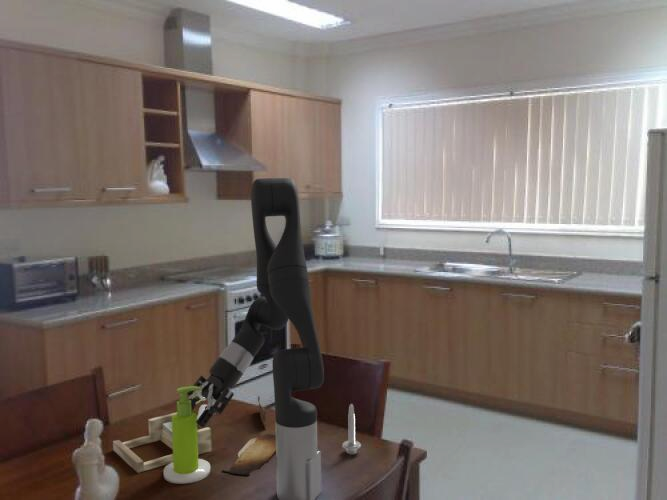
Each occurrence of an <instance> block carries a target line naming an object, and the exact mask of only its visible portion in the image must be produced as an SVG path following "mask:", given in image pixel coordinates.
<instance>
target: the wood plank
mask: <svg viewBox="0 0 667 500" xmlns="http://www.w3.org/2000/svg"><path fill="white" fill-rule="evenodd" d="M260 400H261V398H260V396H259V395H258V396H257V402H258V408H259V415H260V421H261V422H262V424H263V427H264V429H265V430H267V429H266V421H267V419H266V418H267V413H268V412H266V410H265V408H264V407H262V405H261V403H260V402H261V401H260Z"/></svg>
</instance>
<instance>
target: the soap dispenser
mask: <svg viewBox="0 0 667 500" xmlns="http://www.w3.org/2000/svg"><path fill="white" fill-rule="evenodd" d="M176 389H177V390H176V391H177V393H178V394H179V400H177V401H176V412H177V414H174V415H173V416H172V439H173V449H172V454H173V468H174V472H176V473H178V474H188V473H192V472H194V471H196V470H197V469H198V467H199V465H198V459H199V455H198V431H197V430H198V424H197V423H196V421H197V416H198V414H197V413H196V412H193V410H192V409H191V400H189V396H188V395H187V393H188V391H194V392H195V391H200V390H201V388H200V387H198V386H193V385H188V386H182V387H177V388H176Z"/></svg>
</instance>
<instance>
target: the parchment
mask: <svg viewBox="0 0 667 500" xmlns="http://www.w3.org/2000/svg"><path fill="white" fill-rule="evenodd" d="M255 436H257V437H255V438H250V439H249V440H248V441H247V442H246V443H245V445H244V446H243V447H242V448H241V449H240V450H239V451H238V453H237V455H238V458H237V459H236V461H235V462H234V463H233V465H231V467H230V469H229V470H223V469H222V472H224V473H225V472H226V473H229V474H233V475H241V476H247V477H249V476H250V474H251V473H253V472H255V471H258V470H260V469H261V467H262V466H264V465H265V464H268V463H269V461H270V459H271V458H272V457H273V455H274V454H276V434H272V433H271V434H270V433H267V434H264V435H260V434H255Z"/></svg>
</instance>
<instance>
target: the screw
mask: <svg viewBox="0 0 667 500" xmlns="http://www.w3.org/2000/svg"><path fill="white" fill-rule="evenodd" d="M355 415H356V414H355V407H354V404H353V403H350V404H349V406H348V415H347V416H348V417H347V418H348V419H347V421H348V422H347V423H348V424H347V425H348V426H347V427H348V428H347V430H348V432H347V434H348V435H347V436H348V437H347V438H348V439H347V440H345V441H344V442H343V443H342V445H341V446H342V448H344V449H345V450H346V451H345V453H347V454H348V455H355V454H357V453H358V449H360V448H361V447H362V444H361V443H360V442H359V441H358V440H356V418H355V417H356V416H355Z"/></svg>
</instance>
